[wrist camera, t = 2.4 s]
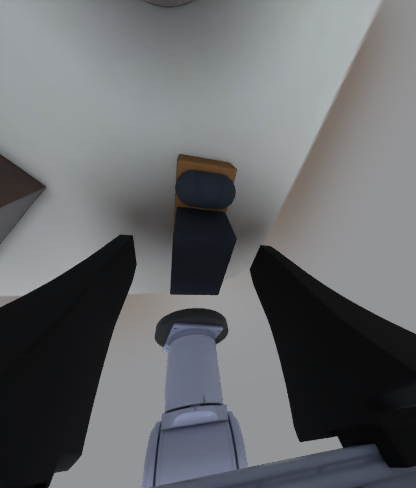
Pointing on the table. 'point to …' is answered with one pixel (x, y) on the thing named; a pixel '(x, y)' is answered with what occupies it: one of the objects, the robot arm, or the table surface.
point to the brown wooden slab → (15, 195)
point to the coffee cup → (168, 2)
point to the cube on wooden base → (202, 225)
